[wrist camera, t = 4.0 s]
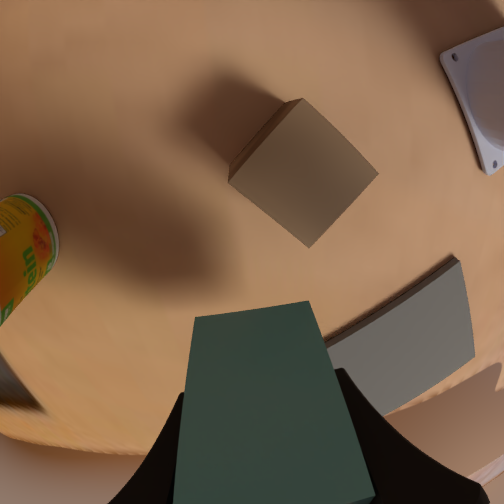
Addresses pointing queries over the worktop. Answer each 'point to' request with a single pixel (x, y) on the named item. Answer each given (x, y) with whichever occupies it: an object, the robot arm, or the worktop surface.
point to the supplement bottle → (24, 249)
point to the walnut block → (301, 171)
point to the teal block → (266, 415)
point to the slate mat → (409, 341)
